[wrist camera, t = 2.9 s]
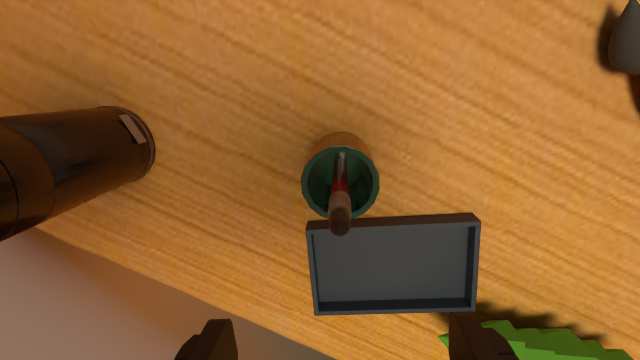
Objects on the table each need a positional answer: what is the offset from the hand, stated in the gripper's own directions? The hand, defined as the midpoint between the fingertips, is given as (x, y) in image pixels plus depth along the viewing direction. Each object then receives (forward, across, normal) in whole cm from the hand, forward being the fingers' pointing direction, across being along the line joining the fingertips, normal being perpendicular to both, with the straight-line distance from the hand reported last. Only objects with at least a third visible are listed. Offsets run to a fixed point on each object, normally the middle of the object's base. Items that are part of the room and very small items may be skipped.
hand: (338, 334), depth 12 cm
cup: (+28, 0, 0) cm, 28 cm away
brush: (+27, 0, 0) cm, 27 cm away
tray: (+28, -6, +14) cm, 31 cm away
